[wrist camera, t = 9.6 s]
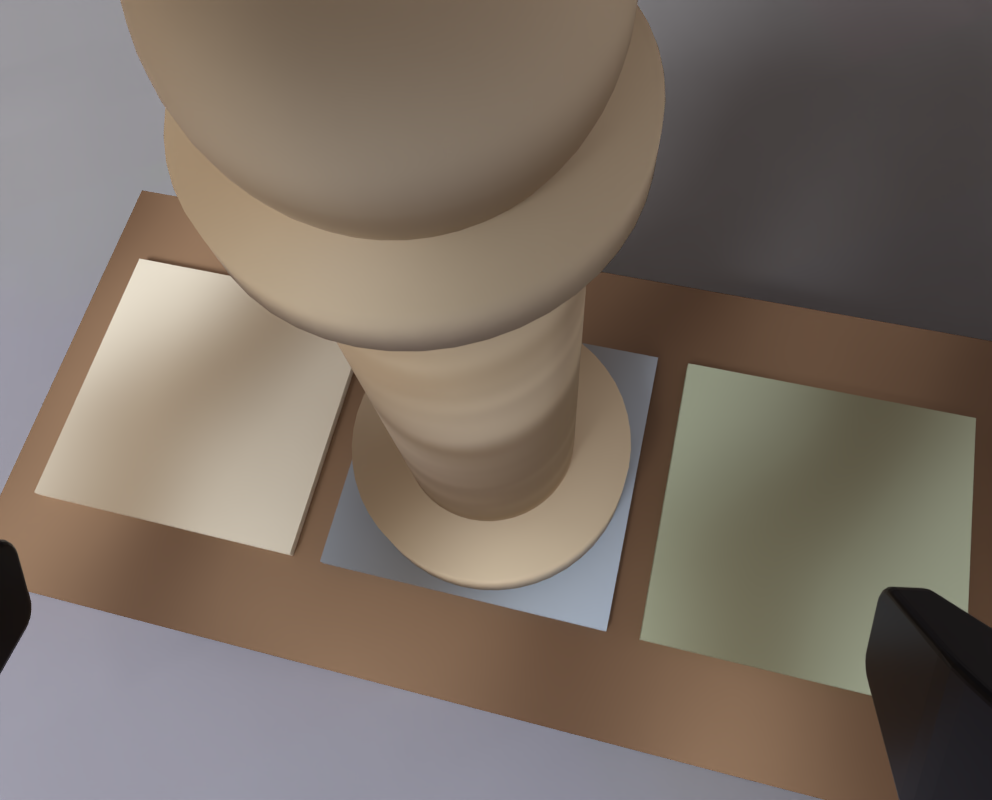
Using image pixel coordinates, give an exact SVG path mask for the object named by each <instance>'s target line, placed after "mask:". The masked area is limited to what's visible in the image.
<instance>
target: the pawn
mask: <svg viewBox="0 0 992 800" xmlns="http://www.w3.org/2000/svg"><path fill="white" fill-rule="evenodd" d="M120 1H121V4H122V8H123V12H124V15H125V19H126V23H127V26H128V29H129V32H130V34H131V37H132V40H133V43H134V46H135V49H136V52H137V54H138V56H139V58H140V61H141V63H142V65H143V67H144V69H145V71H146V73H147V75H148V77H149V79H150V81H151V83H152V85H153V87H154V88H155V90H156V92H157V94H158V96H159V98H160V100H161V102H162V103H163V105H164V106H165V107H166V109H165V123H164V144H165V154H166V163H167V166H168V170H169V174H170V177H171V181H172V185H173V188H174V190H175V192H176V195H177V197H178V199H179V201H180V203H181V205H182V208H183V210H184V212H185V213H186V215H187V216H188V218H189V219H190V221H191V222H192V224H193V225H194V227H195V228H196V230H197V231H198V233H199V234H200V235H201V237H202V238H203V240H204V241H205V242H206V244H207V245H208V246H209V248H210V249H211V250H212V252H213V253H214V255H215V256H216V257H217V259H218V260H219V261H220V263H221V264H222V265H223V267H224V268H225V270H226V271H227V272H228V274H229V275H230V276H231V277H232V278H233V279H234V280H235V282H236V283H237V284H238V285H239V286H240V287H241V288H242V289H243V290H244V291H245V292H246V293H247V294H248V295H249V296H250V297H251V298H252V299H254V300H255V301H256V302H258V303H259V304H260V305H261V306H263V307H264V308H265V309H267V310H268V311H269V312H270V313H272V314H274V315H275V316H277V317H279V318H281V319H282V320H284V321H286V322H288V323H289V324H291V325H293V326H295V327H296V328H298V329H301V330H303V331H306V332H308V333H311V334H313V335H316V336H318V337H321V338H323V339H326V340H330V341H334V342H337V344H338V346H339V348H340V349H341V351H342V353H343V355H344V356H345V358H346V360H347V361H348V363H349V365H350V367H351V368H352V370H353V372H354V374H355V375H356V377H357V379H358V380H359V382H360V384H361V386H362V387H363V389H364V391H365V394H364V396H363V399H362V401H361V404H360V407H359V409H358V412H357V416H356V420H355V424H354V428H353V438H352V464H353V470H354V476H355V481H356V484H357V487H358V490H359V493H360V496H361V499H362V501H363V503H364V505H365V507H366V509H367V511H368V513H369V515H370V516H371V518H372V519H373V521H374V522H375V524H376V525H377V526H378V528H379V529H380V530H381V531H382V532H383V534H384V535H385V536H386V537H387V538H388V539H389V540H390V541H391V542H392V543H393V545H394V546H395V547H396V548H397V549H398V550H399V551H400V552H401V553H402V554H403V555H404V556H405V557H406V558H407V559H409V560H410V561H411V562H412V563H413V564H415V565H416V566H417V567H419V568H421V569H422V570H424V571H425V572H427V573H428V574H430V575H432V576H434V577H436V578H439V579H441V580H443V581H445V582H448V583H451V584H455V585H458V586H461V587H466V588H472V589H478V590H506V589H515V588H520V587H524V586H528V585H532V584H536V583H538V582H541V581H543V580H546V579H548V578H551V577H553V576H554V575H556V574H558V573H560V572H562V571H563V570H565V569H567V568H568V567H570V566H571V565H572V564H574V563H575V562H576V561H578V560H579V559H580V558H581V557H582V556H584V555H585V554H586V553H587V552H588V551H589V550H590V549H591V548H592V547H593V546H594V544H595V543H596V542H597V541H598V539H599V538H600V537H601V535H602V534H603V533H604V531H605V530H606V528H607V526H608V524H609V523H610V521H611V519H612V518H613V515H614V513H615V510H616V508H617V506H618V503H619V500H620V497H621V494H622V491H623V487H624V484H625V480H626V476H627V472H628V468H629V462H630V453H631V434H630V426H629V420H628V414H627V411H626V408H625V404H624V401H623V398H622V396H621V394H620V392H619V389H618V387H617V385H616V383H615V381H614V380H613V378H612V377H611V375H610V374H609V372H608V371H607V369H606V368H605V366H604V365H603V364H602V363H601V362H600V361H599V359H598V358H597V357H596V356H595V355H594V354H593V353H592V352H591V351H590V350H589V349H588V348H586V347H585V346H584V345H583V344H582V332H583V319H584V306H585V293H586V285H587V284H589V283H590V282H591V281H592V280H593V279H594V278H595V277H596V276H598V275H599V274H600V273H601V271H602V270H603V269H604V268H605V267H606V266H607V264H608V263H609V262H610V261H611V260H612V259H613V258H614V256H615V255H616V254H617V253H618V252H619V250H620V249H621V247H622V246H623V244H624V243H625V241H626V239H627V238H628V236H629V235H630V233H631V232H632V230H633V229H634V227H635V225H636V223H637V220H638V218H639V216H640V214H641V212H642V209H643V207H644V205H645V203H646V200H647V196H648V193H649V189H650V186H651V182H652V179H653V175H654V169H655V164H656V158H657V153H658V148H659V142H660V137H661V131H662V125H663V117H664V108H665V83H664V71H663V66H662V62H661V57H660V53H659V48H658V46H657V43H656V41H655V38H654V36H653V33H652V31H651V28H650V26H649V23H648V22H647V20H646V18H645V17H644V15H643V13H642V12H641V10H640V8H639V7H638V5H637V2H638V0H120Z"/></svg>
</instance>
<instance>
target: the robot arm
mask: <svg viewBox="0 0 992 800" xmlns="http://www.w3.org/2000/svg"><path fill="white" fill-rule="evenodd" d="M30 615H31V600H30V596H29V592H28V589H27V585H26V581H25V578H24V574H23V570H22V567H21V563H20V559H19V556H18V553H17V550H16V548H15V547H14V546H13V544H12V543H10V542H8V541H6V540H3V539H0V673H1V672H2V670H3V668H4V666H5V665H6V663H7V661H8V659H9V658H10V656H11V654H12V652H13V651H14V649H15V647H16V645H17V643H18V642H19V640H20V638H21V636H22V635H23V633H24V631H25V629H26V627H27V625H28V623H29V620H30ZM865 668H866V676H867V680H868V684H869V688H870V692H871V695H872V699H873V703H874V707H875V711H876V714H877V718H878V722H879V726H880V730H881V733H882V737H883V741H884V745H885V749H886V752H887V756H888V760H889V764H890V768H891V771H892V775H893V779H894V783H895V787H896V790H897V794H898V798H899V800H992V628H991V627H989V626H988V625H986V624H984V623H983V622H981V621H980V620H978V619H976V618H975V617H973V616H972V615H970V614H969V613H967V612H965V611H964V610H962V609H961V608H959V607H957V606H956V605H954V604H953V603H951V602H950V601H948V600H946V599H945V598H943V597H942V596H940V595H938V594H937V593H935V592H934V591H932V590H930V589H926V588H914V587H893V586H890V587H887V588H886V589H884V590H883V591H882V592H881V594H880V596H879V598H878V601H877V606H876V610H875V614H874V619H873V623H872V628H871V632H870V637H869V641H868V646H867V650H866V658H865Z"/></svg>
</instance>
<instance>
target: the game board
mask: <svg viewBox="0 0 992 800" xmlns="http://www.w3.org/2000/svg"><path fill="white" fill-rule="evenodd" d="M582 344H583V345H584V346H585V347H586V348H588V349H589V350H590V351H591V352H592V353H593V354H594V355H595V356H596V357H597V358H598V359H599V361H600V362H601V363H602V364H603V365H604V366H605V368H606V369H607V371H608V372H609V374H610V375H611V377H612V378H613V380H614V381H615V383H616V385H617V387H618V389H619V392H620V394H621V396H622V398H623V401H624V404H625V408H626V411H627V414H628V420H629V426H630V434H631V453H630V462H629V468H628V472H627V476H626V480H625V484H624V487H623V491H622V494H621V497H620V500H619V503H618V506H617V508H616V510H615V513H614V515H613V518H612V519H611V521H610V523H609V524H608V526H607V528H606V530H605V531H604V533H603V534H602V535H601V537H600V538H599V539H598V541H597V542H596V543H595V544H594V546H593V547H592V548H591V549H590V550H589V551H588V552H587V553H586V554H585V555H584V556H582V557H581V558H580V559H579V560H578V561H576V562H575V563H574V564H572V565H571V566H570V567H568V568H567V569H565V570H563V571H562V572H560V573H558V574H556V575H554V576H553V577H551V578H548V579H546V580H543V581H541V582H538V583H536V584H532V585H528V586H524V587H520V588H515V589H506V590H478V589H472V588H466V587H461V586H458V585H455V584H451V583H448V582H445V581H443V580H441V579H439V578H436V577H434V576H432V575H430V574H428V573H427V572H425V571H424V570H422V569H421V568H419V567H417V566H416V565H415V564H413V563H412V562H411V561H410V560H409V559H407V558H406V557H405V556H404V555H403V554H402V553H401V552H400V551H399V550H398V549H397V548H396V547H395V546H394V545H393V543H392V542H391V541H390V540H389V539H388V538H387V537H386V536H385V535H384V534H383V532H382V531H381V530H380V529H379V528H378V526H377V525H376V524H375V522H374V521H373V519H372V518H371V516H370V515H369V513H368V511H367V509H366V507H365V505H364V503H363V501H362V499H361V496H360V493H359V490H358V487H357V484H356V481H355V476H354V470H353V464H352V438H353V428H354V424H355V420H356V416H357V412H358V409H359V407H360V404H361V401H362V399H363V396H364V394H365V391H364V389H363V387H362V386H361V384H360V382H359V380H358V379H357V377H356V375H355V374H354V372H353V370H352V368H351V367H350V365H349V363H348V361H347V360H346V358H345V356H344V355H343V353H342V351H341V349H340V348H339V346H338V344H337V342H334V341H330V340H326V339H323V338H321V337H318V336H316V335H313V334H311V333H308V332H306V331H303V330H301V329H298V328H296V327H295V326H293V325H291V324H289V323H288V322H286V321H284V320H282V319H281V318H279V317H277V316H275V315H274V314H272V313H270V312H269V311H268V310H267V309H265V308H264V307H263V306H261V305H260V304H259V303H258V302H256V301H255V300H254V299H252V298H251V297H250V296H249V295H248V294H247V293H246V292H245V291H244V290H243V289H242V288H241V287H240V286H239V285H238V284H237V283H236V282H235V280H234V279H233V278H232V277H231V276H230V275H229V274H228V272H227V271H226V270H225V268H224V267H223V265H222V264H221V263H220V261H219V260H218V259H217V257H216V256H215V255H214V253H213V252H212V250H211V249H210V248H209V246H208V245H207V244H206V242H205V241H204V240H203V238H202V237H201V235H200V234H199V233H198V231H197V230H196V228H195V227H194V225H193V224H192V222H191V221H190V219H189V218H188V216H187V215H186V213H185V212H184V210H183V208H182V205H181V203H180V201H179V199H178V197H176V196H170V195H164V194H159V193H153V192H147V191H142V192H141V194H140V196H139V198H138V200H137V202H136V205H135V207H134V209H133V211H132V213H131V215H130V217H129V220H128V222H127V224H126V226H125V228H124V230H123V233H122V235H121V237H120V239H119V241H118V243H117V245H116V248H115V250H114V252H113V254H112V256H111V258H110V261H109V263H108V265H107V267H106V269H105V271H104V273H103V276H102V278H101V280H100V282H99V284H98V286H97V289H96V291H95V293H94V295H93V297H92V299H91V301H90V304H89V306H88V308H87V310H86V312H85V314H84V317H83V319H82V321H81V323H80V325H79V327H78V329H77V332H76V334H75V336H74V338H73V340H72V342H71V345H70V347H69V349H68V351H67V353H66V355H65V357H64V360H63V362H62V364H61V366H60V368H59V370H58V373H57V375H56V377H55V379H54V381H53V383H52V385H51V388H50V390H49V392H48V394H47V396H46V398H45V401H44V403H43V405H42V407H41V409H40V411H39V413H38V416H37V418H36V420H35V422H34V424H33V426H32V429H31V431H30V433H29V435H28V437H27V439H26V441H25V444H24V446H23V448H22V450H21V452H20V454H19V457H18V459H17V461H16V463H15V465H14V467H13V469H12V472H11V474H10V476H9V478H8V480H7V482H6V485H5V487H4V489H3V491H2V493H1V495H0V539H3V540H6V541H8V542H10V543H12V544H13V546H14V547H15V548H16V550H17V553H18V556H19V559H20V563H21V567H22V570H23V574H24V578H25V581H26V585H27V589H28V591H29V592H32V593H36V594H40V595H44V596H48V597H52V598H55V599H59V600H63V601H67V602H71V603H74V604H78V605H82V606H86V607H90V608H94V609H97V610H101V611H105V612H109V613H113V614H117V615H120V616H124V617H128V618H132V619H136V620H140V621H143V622H147V623H151V624H155V625H159V626H162V627H166V628H170V629H174V630H178V631H182V632H185V633H189V634H193V635H197V636H201V637H205V638H208V639H212V640H216V641H220V642H224V643H227V644H231V645H235V646H239V647H243V648H247V649H250V650H254V651H258V652H262V653H266V654H270V655H273V656H277V657H281V658H285V659H289V660H292V661H296V662H300V663H304V664H308V665H312V666H315V667H319V668H323V669H327V670H331V671H335V672H338V673H342V674H346V675H350V676H354V677H357V678H361V679H365V680H369V681H373V682H377V683H380V684H384V685H388V686H392V687H396V688H400V689H403V690H407V691H411V692H415V693H419V694H422V695H426V696H430V697H434V698H438V699H442V700H445V701H449V702H453V703H457V704H461V705H465V706H468V707H472V708H476V709H480V710H484V711H487V712H491V713H495V714H499V715H503V716H507V717H510V718H514V719H518V720H522V721H526V722H530V723H533V724H537V725H541V726H545V727H549V728H553V729H556V730H560V731H564V732H568V733H572V734H575V735H579V736H583V737H587V738H591V739H595V740H598V741H602V742H606V743H610V744H614V745H618V746H621V747H625V748H629V749H633V750H637V751H640V752H644V753H648V754H652V755H656V756H660V757H663V758H667V759H671V760H675V761H679V762H683V763H686V764H690V765H694V766H698V767H702V768H705V769H709V770H713V771H717V772H721V773H725V774H728V775H732V776H736V777H740V778H744V779H748V780H751V781H755V782H759V783H763V784H767V785H770V786H774V787H778V788H782V789H786V790H790V791H793V792H797V793H801V794H805V795H809V796H813V797H816V798H820V799H824V800H899V798H898V794H897V790H896V787H895V783H894V779H893V775H892V771H891V768H890V764H889V760H888V756H887V752H886V749H885V745H884V741H883V737H882V733H881V730H880V726H879V722H878V718H877V714H876V711H875V707H874V703H873V699H872V695H871V692H870V688H869V684H868V680H867V676H866V668H865V658H866V650H867V646H868V641H869V637H870V632H871V628H872V623H873V619H874V614H875V610H876V606H877V601H878V598H879V596H880V594H881V592H882V591H883V590H884V589H886V588H887V587H890V586H893V587H914V588H926V589H930V590H932V591H934V592H935V593H937V594H938V595H940V596H942V597H943V598H945V599H946V600H948V601H950V602H951V603H953V604H954V605H956V606H957V607H959V608H961V609H962V610H964V611H965V612H967V613H969V614H970V615H972V616H973V617H975V618H976V619H978V620H980V621H981V622H983V623H984V624H986V625H988V626H989V627H991V628H992V341H988V340H982V339H976V338H971V337H965V336H959V335H954V334H948V333H943V332H937V331H931V330H926V329H920V328H914V327H909V326H903V325H897V324H892V323H886V322H881V321H875V320H869V319H864V318H858V317H852V316H847V315H841V314H835V313H830V312H824V311H818V310H813V309H807V308H802V307H796V306H790V305H785V304H779V303H773V302H768V301H762V300H756V299H751V298H745V297H740V296H734V295H728V294H723V293H717V292H711V291H706V290H700V289H694V288H689V287H683V286H678V285H672V284H666V283H661V282H655V281H649V280H644V279H638V278H632V277H627V276H621V275H615V274H610V273H604V272H601V273H600V274H599V275H598V276H596V277H595V278H594V279H593V280H592V281H591V282H590V283H589V284H587V285H586V293H585V306H584V319H583V332H582Z"/></svg>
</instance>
